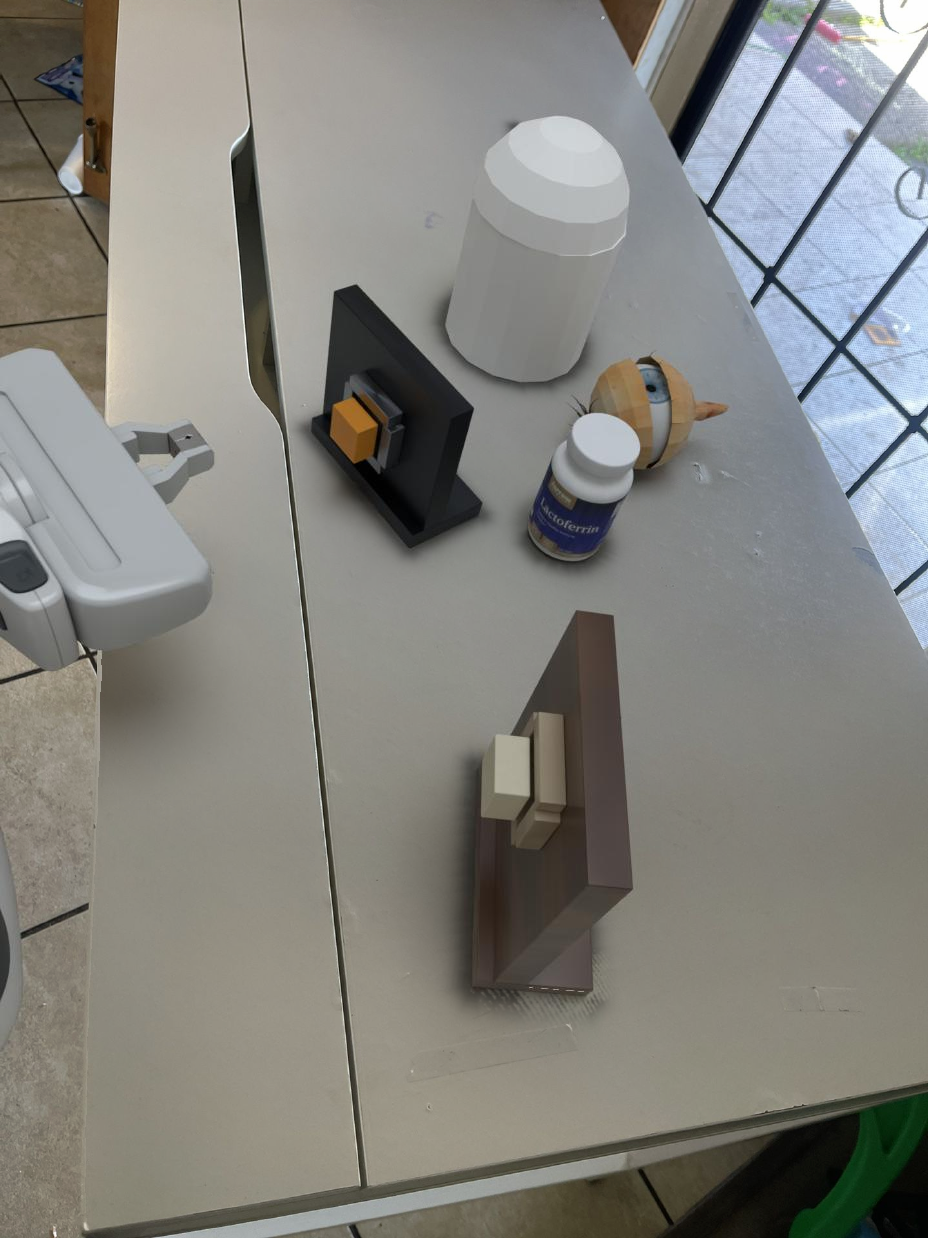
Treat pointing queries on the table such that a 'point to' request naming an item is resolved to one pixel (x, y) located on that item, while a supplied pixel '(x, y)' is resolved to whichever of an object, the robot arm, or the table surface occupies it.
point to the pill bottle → (584, 487)
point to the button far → (353, 430)
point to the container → (538, 249)
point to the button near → (505, 777)
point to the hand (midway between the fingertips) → (202, 442)
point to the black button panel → (397, 421)
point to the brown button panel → (557, 827)
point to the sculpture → (651, 406)
